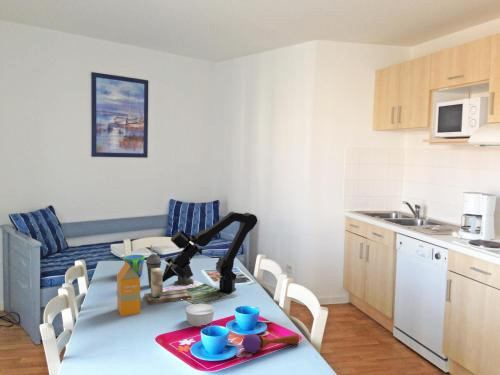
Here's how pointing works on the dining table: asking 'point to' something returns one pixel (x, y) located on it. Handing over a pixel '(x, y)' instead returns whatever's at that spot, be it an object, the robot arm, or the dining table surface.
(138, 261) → the snack cup
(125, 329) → the dining table surface
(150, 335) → the dining table surface
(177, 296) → the gauge board
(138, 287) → the orange juice
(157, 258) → the beverage cup
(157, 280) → the slider block
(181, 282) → the sword in stone
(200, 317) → the ramekin
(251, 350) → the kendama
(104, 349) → the dining table surface
